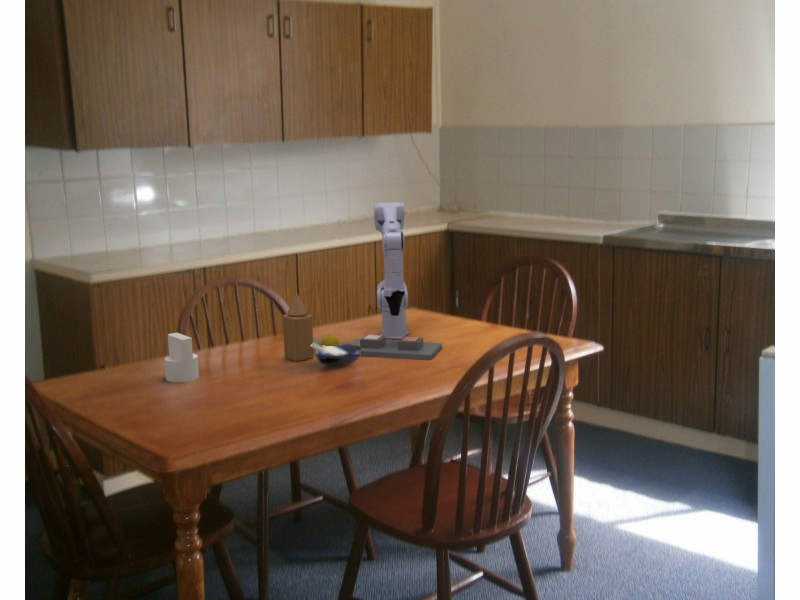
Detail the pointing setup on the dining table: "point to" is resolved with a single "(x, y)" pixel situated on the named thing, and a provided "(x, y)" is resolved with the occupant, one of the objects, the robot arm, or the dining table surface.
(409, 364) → the dining table surface
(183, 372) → the cylinder with rectangular tab
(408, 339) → the terracotta key
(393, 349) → the grey key base
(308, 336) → the decorative item
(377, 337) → the white key
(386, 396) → the dining table surface
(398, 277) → the robot arm
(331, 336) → the lemon
